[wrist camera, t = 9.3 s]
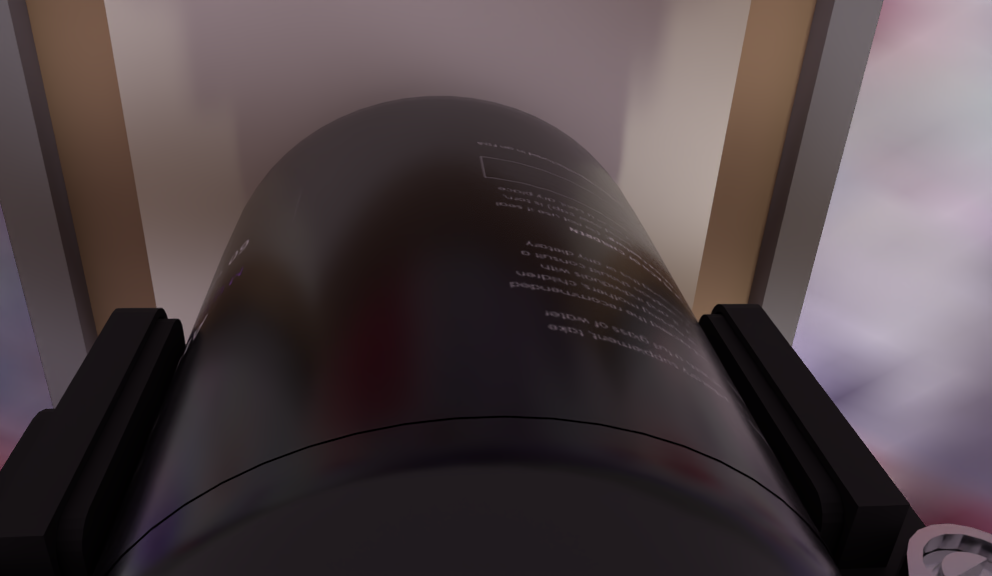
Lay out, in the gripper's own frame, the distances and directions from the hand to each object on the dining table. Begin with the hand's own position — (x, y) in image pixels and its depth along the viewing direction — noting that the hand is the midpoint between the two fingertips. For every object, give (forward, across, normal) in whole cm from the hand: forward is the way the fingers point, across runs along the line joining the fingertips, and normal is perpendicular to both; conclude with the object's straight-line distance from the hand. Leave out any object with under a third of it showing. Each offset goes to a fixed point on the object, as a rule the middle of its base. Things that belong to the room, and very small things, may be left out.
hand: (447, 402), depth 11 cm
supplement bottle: (+3, 0, 0) cm, 3 cm away
